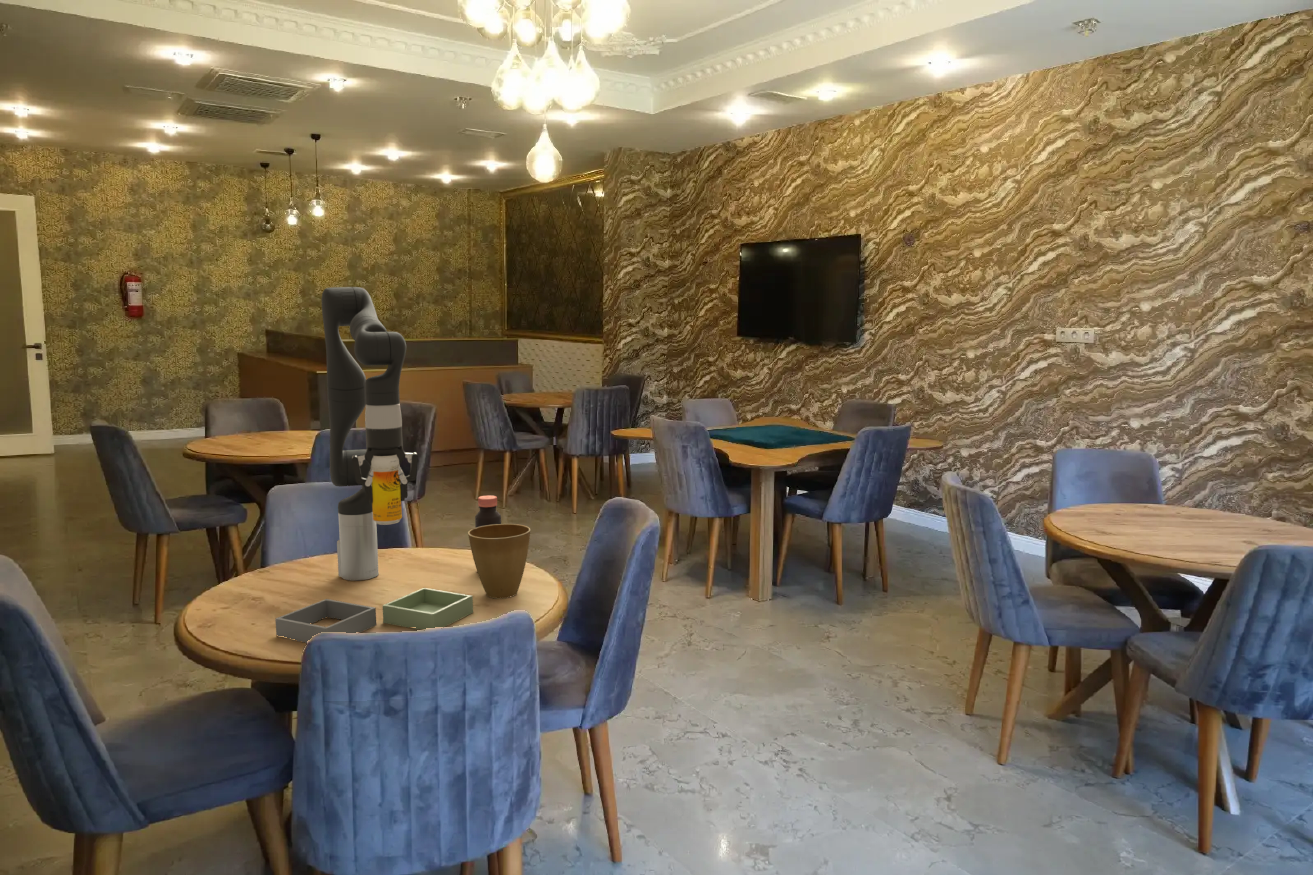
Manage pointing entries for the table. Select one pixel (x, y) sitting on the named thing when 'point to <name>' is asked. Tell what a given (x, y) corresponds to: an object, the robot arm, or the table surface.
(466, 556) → the table surface
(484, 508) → the bottle
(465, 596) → the olive bin
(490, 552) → the plant pot
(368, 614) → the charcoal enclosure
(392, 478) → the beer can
